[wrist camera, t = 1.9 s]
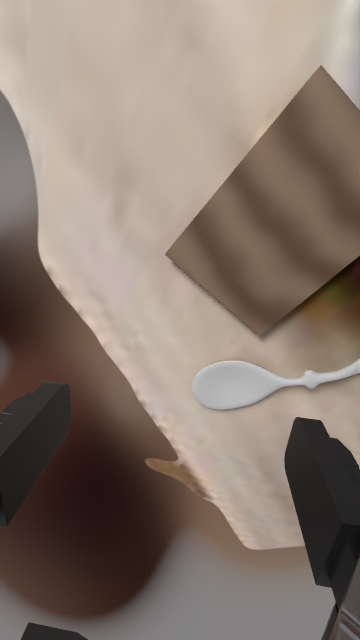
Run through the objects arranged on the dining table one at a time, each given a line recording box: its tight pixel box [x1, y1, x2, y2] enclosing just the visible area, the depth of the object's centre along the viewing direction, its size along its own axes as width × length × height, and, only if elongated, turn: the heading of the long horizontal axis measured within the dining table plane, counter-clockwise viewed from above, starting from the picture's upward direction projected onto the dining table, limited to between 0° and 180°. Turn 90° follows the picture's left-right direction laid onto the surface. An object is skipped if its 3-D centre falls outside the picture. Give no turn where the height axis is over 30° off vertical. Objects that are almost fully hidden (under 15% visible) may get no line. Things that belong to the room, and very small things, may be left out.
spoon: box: [192, 358, 360, 410], centre depth 40 cm, size 9×32×4 cm, turn 109°
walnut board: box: [165, 65, 360, 336], centre depth 32 cm, size 22×16×2 cm
